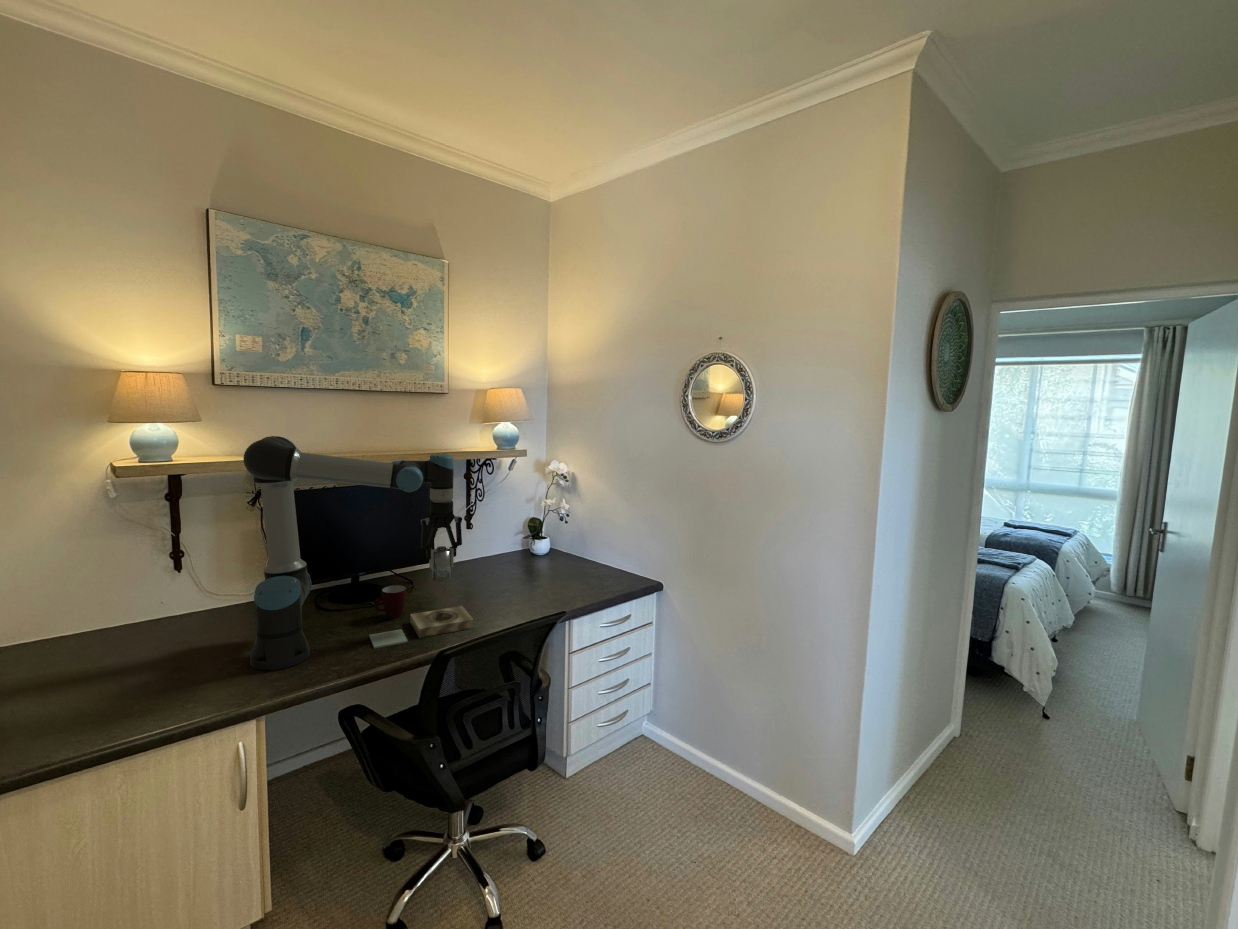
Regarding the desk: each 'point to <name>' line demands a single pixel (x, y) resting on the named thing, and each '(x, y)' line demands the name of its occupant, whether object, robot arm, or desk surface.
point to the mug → (392, 600)
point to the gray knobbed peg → (442, 564)
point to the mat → (388, 638)
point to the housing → (441, 621)
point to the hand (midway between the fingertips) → (441, 567)
